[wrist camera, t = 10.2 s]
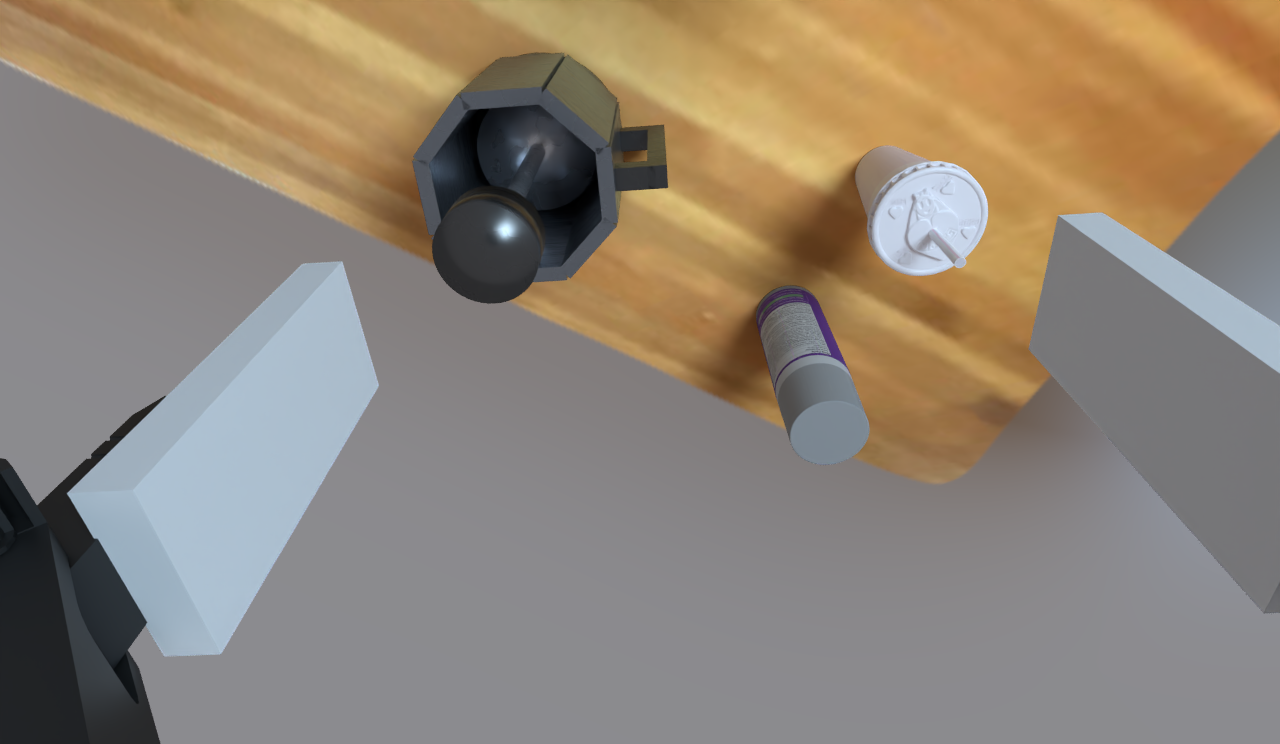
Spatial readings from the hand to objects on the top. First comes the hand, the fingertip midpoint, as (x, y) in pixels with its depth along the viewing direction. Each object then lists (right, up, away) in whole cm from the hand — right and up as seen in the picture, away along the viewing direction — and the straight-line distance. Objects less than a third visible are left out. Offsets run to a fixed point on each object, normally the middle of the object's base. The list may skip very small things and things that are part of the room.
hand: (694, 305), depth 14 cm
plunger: (-7, +12, +32) cm, 35 cm away
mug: (-6, +14, +34) cm, 38 cm away
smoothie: (+15, +12, +36) cm, 40 cm away
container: (+10, +3, +41) cm, 42 cm away
